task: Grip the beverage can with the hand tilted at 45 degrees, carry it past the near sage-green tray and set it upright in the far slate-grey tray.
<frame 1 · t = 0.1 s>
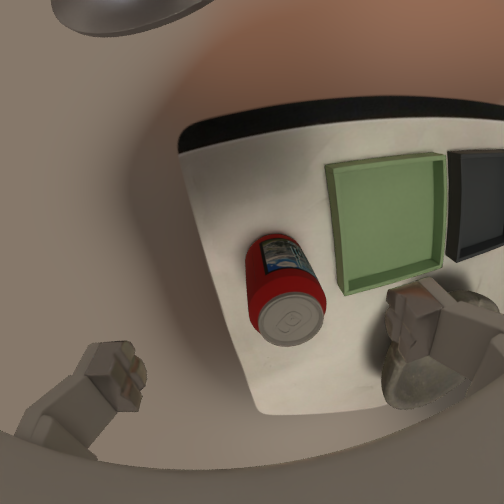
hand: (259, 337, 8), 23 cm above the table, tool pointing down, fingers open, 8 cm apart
bowl: (422, 327, 40), on the table
beverage can: (273, 257, 33), on the table
sage tray: (389, 218, 31), on the table
slate tray: (480, 199, 31), on the table
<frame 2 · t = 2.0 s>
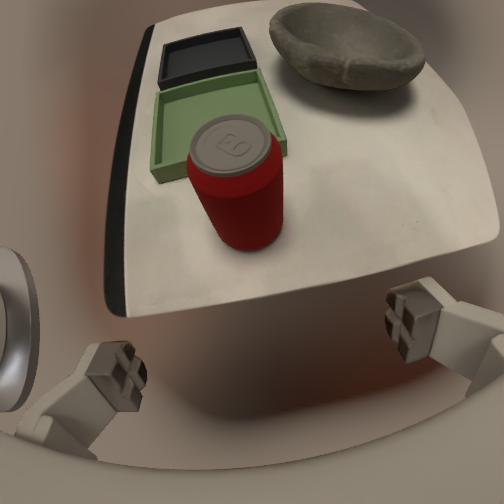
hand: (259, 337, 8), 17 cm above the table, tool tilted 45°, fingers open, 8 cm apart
bowl: (344, 75, 36), on the table
beverage can: (249, 222, 28), on the table
sage tray: (215, 124, 33), on the table
slate tray: (206, 61, 40), on the table
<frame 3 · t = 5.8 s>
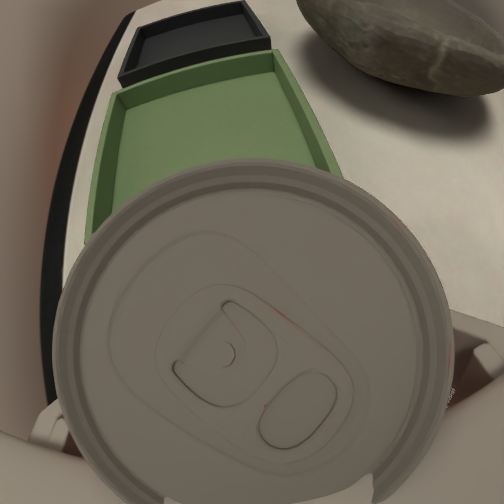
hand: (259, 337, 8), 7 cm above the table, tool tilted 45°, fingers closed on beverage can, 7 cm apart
bowl: (398, 67, 22), on the table
beverage can: (272, 354, 14), on the table, touching gripper
sage tray: (203, 143, 19), on the table
slate tray: (195, 45, 26), on the table
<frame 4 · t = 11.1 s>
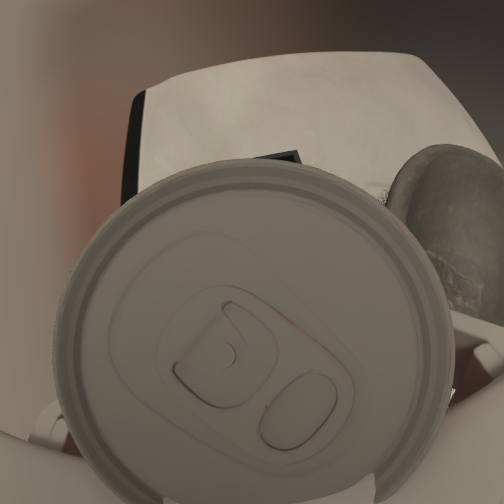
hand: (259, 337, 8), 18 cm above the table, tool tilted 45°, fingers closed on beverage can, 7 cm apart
bowl: (446, 280, 25), on the table
beverage can: (272, 354, 14), point 12 cm above the table, touching gripper
slate tray: (244, 235, 29), on the table
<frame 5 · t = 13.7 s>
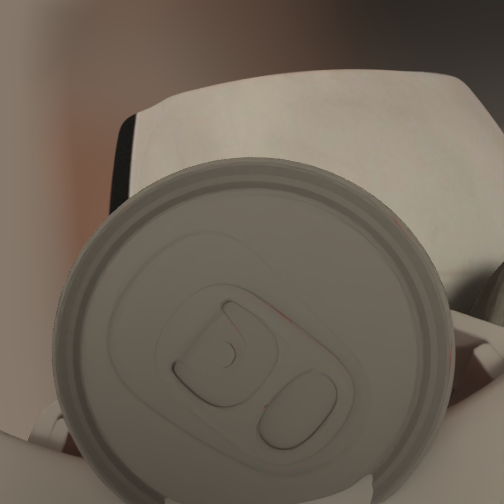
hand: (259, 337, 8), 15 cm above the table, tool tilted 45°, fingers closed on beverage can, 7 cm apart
bowl: (492, 381, 17), on the table
beverage can: (272, 354, 14), point 8 cm above the table, touching gripper
when the fingers open (7 cm above the table, at t = 16.3 s): beverage can stays where it is, resting on slate tray.
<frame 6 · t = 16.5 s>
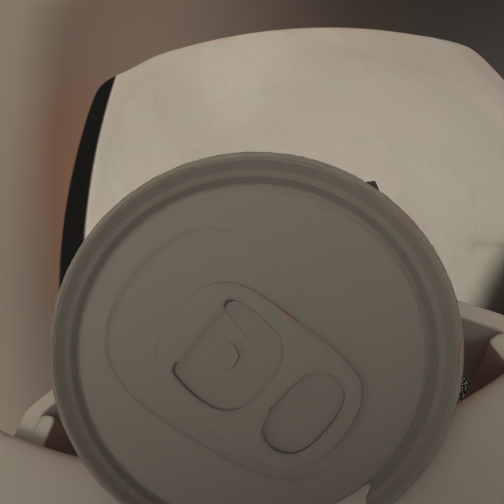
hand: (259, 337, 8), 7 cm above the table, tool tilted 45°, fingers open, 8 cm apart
beverage can: (274, 354, 14), resting on slate tray
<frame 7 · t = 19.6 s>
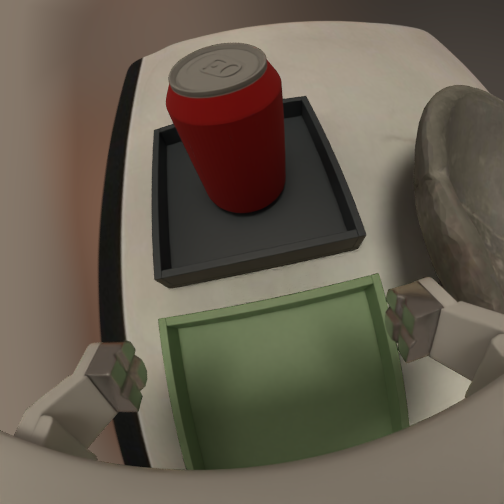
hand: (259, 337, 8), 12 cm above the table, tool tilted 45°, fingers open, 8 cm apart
bowl: (482, 244, 20), on the table
beverage can: (246, 184, 24), resting on slate tray
sage tray: (290, 405, 18), on the table
slate tray: (246, 187, 24), on the table
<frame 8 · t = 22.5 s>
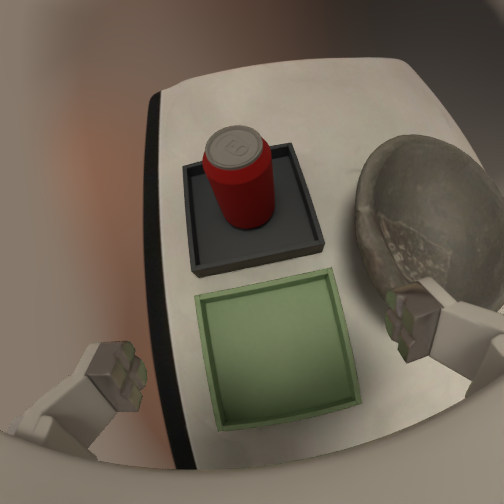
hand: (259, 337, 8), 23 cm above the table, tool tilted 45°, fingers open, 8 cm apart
bowl: (419, 248, 32), on the table
beverage can: (249, 208, 36), resting on slate tray
sage tray: (277, 352, 30), on the table
slate tray: (248, 210, 36), on the table
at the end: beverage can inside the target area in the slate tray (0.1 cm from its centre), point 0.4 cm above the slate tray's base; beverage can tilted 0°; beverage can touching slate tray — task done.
